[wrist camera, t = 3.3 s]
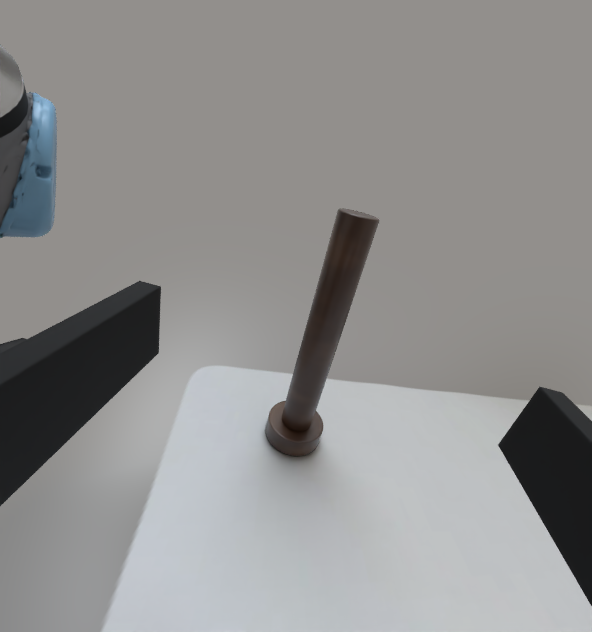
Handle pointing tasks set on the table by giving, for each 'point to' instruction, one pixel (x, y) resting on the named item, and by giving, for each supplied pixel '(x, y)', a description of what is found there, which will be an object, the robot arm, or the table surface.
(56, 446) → the robot arm
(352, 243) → the muddler
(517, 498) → the table surface
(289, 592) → the table surface
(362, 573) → the table surface
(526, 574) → the table surface
